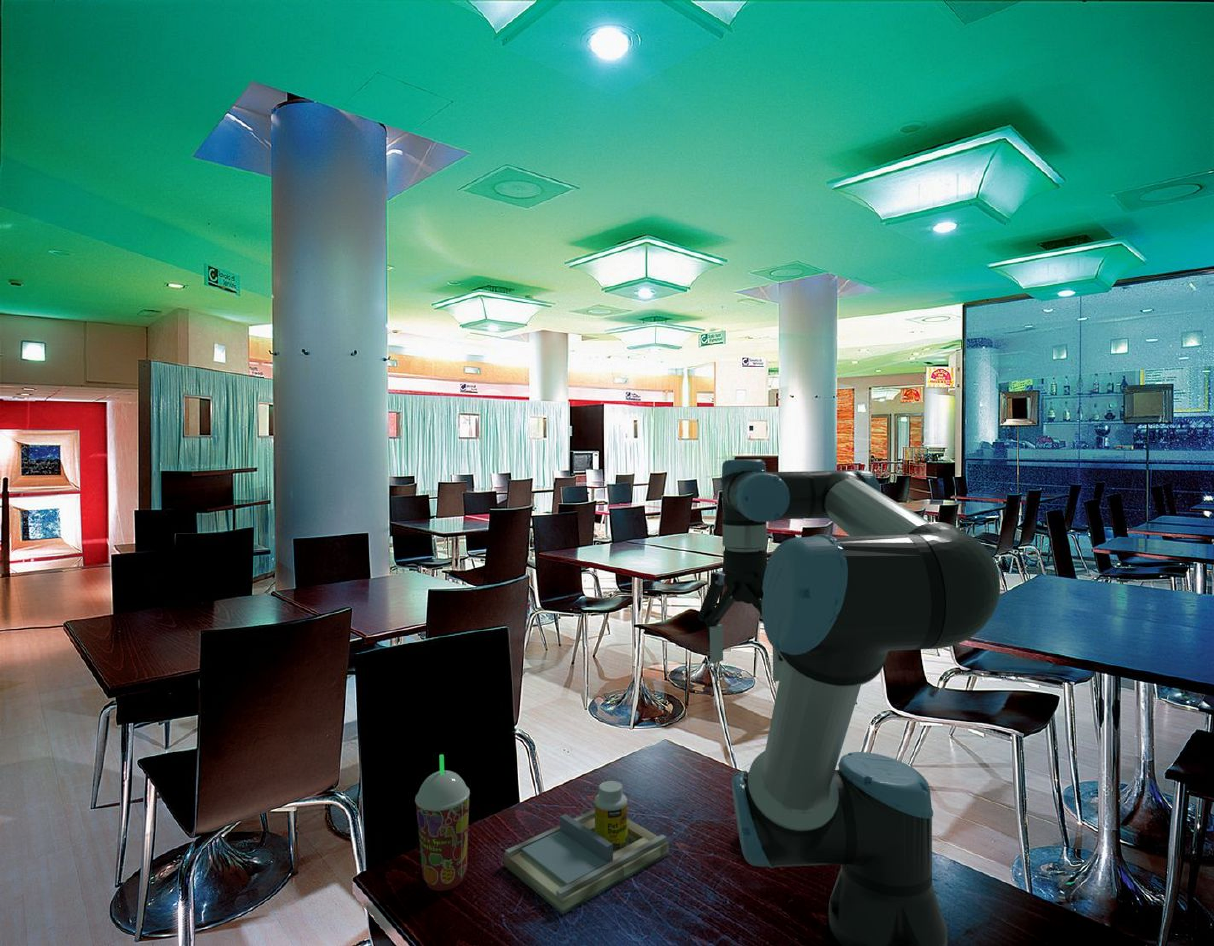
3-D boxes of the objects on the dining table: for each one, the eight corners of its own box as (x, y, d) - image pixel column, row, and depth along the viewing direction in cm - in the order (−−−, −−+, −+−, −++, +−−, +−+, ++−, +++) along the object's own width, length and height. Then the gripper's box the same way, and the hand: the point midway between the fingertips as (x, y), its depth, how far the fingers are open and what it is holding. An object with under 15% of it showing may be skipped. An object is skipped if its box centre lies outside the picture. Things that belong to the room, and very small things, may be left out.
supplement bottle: (606, 859, 112) (605, 797, 112) (588, 843, 117) (587, 783, 116) (634, 847, 115) (633, 787, 115) (616, 832, 120) (615, 775, 119)
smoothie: (406, 890, 106) (402, 762, 105) (438, 860, 113) (435, 741, 113) (452, 902, 103) (448, 770, 102) (482, 870, 110) (478, 748, 110)
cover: (565, 831, 117) (565, 813, 117) (613, 863, 108) (612, 843, 108) (521, 851, 112) (521, 833, 112) (567, 887, 102) (567, 867, 102)
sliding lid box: (606, 816, 126) (606, 801, 126) (669, 854, 114) (668, 837, 114) (504, 865, 112) (503, 848, 112) (563, 914, 99) (562, 895, 99)
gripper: (820, 552, 111) (822, 682, 112) (704, 540, 130) (706, 650, 131) (794, 558, 106) (796, 693, 107) (677, 544, 125) (679, 659, 126)
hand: (746, 670), depth 119 cm, fingers open, 13 cm apart
